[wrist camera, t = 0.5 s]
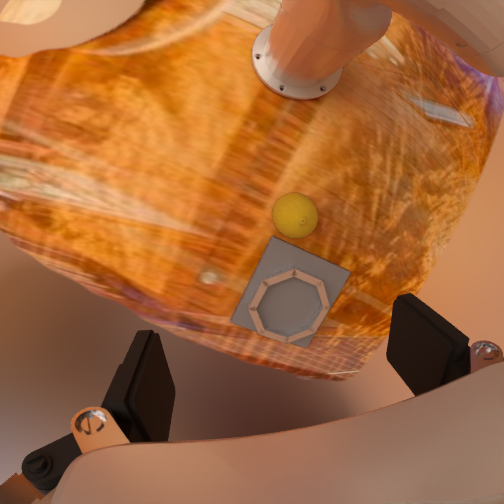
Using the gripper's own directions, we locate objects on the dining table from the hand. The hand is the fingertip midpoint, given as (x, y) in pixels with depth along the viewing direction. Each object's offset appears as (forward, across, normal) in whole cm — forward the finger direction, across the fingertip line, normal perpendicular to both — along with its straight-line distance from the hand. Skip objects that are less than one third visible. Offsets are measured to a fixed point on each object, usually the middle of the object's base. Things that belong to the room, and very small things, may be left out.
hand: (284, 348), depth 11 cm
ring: (+29, -6, +13) cm, 32 cm away
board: (+30, -6, +12) cm, 33 cm away
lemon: (+30, -6, 0) cm, 31 cm away
